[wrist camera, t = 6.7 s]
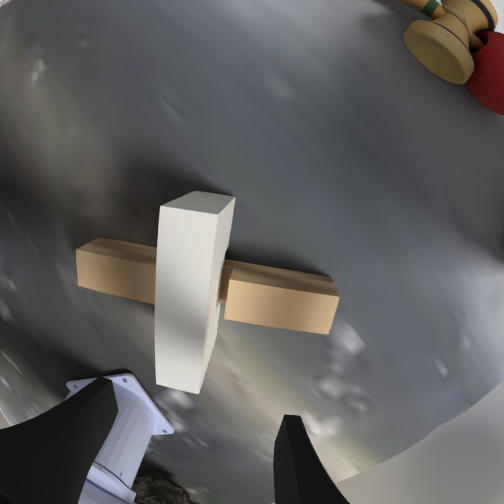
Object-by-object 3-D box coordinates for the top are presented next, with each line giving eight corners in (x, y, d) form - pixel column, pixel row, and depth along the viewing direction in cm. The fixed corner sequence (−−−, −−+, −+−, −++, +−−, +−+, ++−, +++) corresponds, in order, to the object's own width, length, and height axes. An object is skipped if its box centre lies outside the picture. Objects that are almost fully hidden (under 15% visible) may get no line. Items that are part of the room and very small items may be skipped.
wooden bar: (99, 269, 20) (78, 285, 17) (99, 236, 19) (75, 249, 16) (321, 310, 20) (328, 334, 17) (330, 276, 19) (339, 296, 16)
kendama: (278, 1, 15) (493, 151, 14) (276, -63, 8) (553, 131, 8) (329, -41, 14) (512, 87, 14) (337, -93, 8) (557, 61, 7)
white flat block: (182, 330, 21) (156, 383, 15) (195, 190, 18) (160, 205, 12) (216, 337, 21) (198, 394, 15) (235, 196, 18) (218, 214, 12)
